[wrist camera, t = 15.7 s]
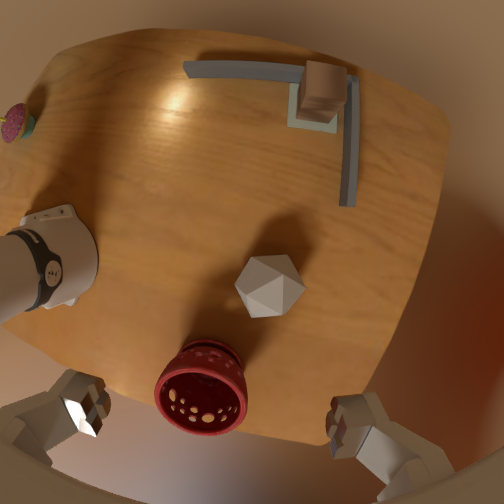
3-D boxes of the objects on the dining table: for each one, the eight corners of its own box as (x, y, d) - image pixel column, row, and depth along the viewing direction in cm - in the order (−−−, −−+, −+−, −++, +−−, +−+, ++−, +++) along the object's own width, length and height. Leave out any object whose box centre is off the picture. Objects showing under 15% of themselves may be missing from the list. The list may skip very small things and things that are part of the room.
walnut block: (295, 119, 38) (305, 93, 28) (297, 90, 37) (307, 60, 27) (328, 123, 37) (347, 101, 28) (329, 95, 37) (346, 67, 27)
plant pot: (237, 400, 46) (232, 446, 34) (169, 378, 45) (148, 419, 34) (260, 344, 44) (260, 387, 32) (183, 319, 43) (159, 354, 32)
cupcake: (13, 141, 39) (-25, 134, 27) (27, 105, 38) (-9, 93, 26) (31, 150, 39) (-10, 143, 27) (46, 111, 38) (8, 97, 26)
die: (227, 285, 43) (244, 339, 36) (234, 239, 37) (256, 295, 30) (277, 280, 46) (301, 329, 38) (292, 236, 40) (322, 287, 33)
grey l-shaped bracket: (173, 191, 40) (165, 189, 36) (190, 72, 37) (184, 61, 33) (346, 206, 40) (355, 207, 36) (351, 86, 36) (359, 76, 33)
